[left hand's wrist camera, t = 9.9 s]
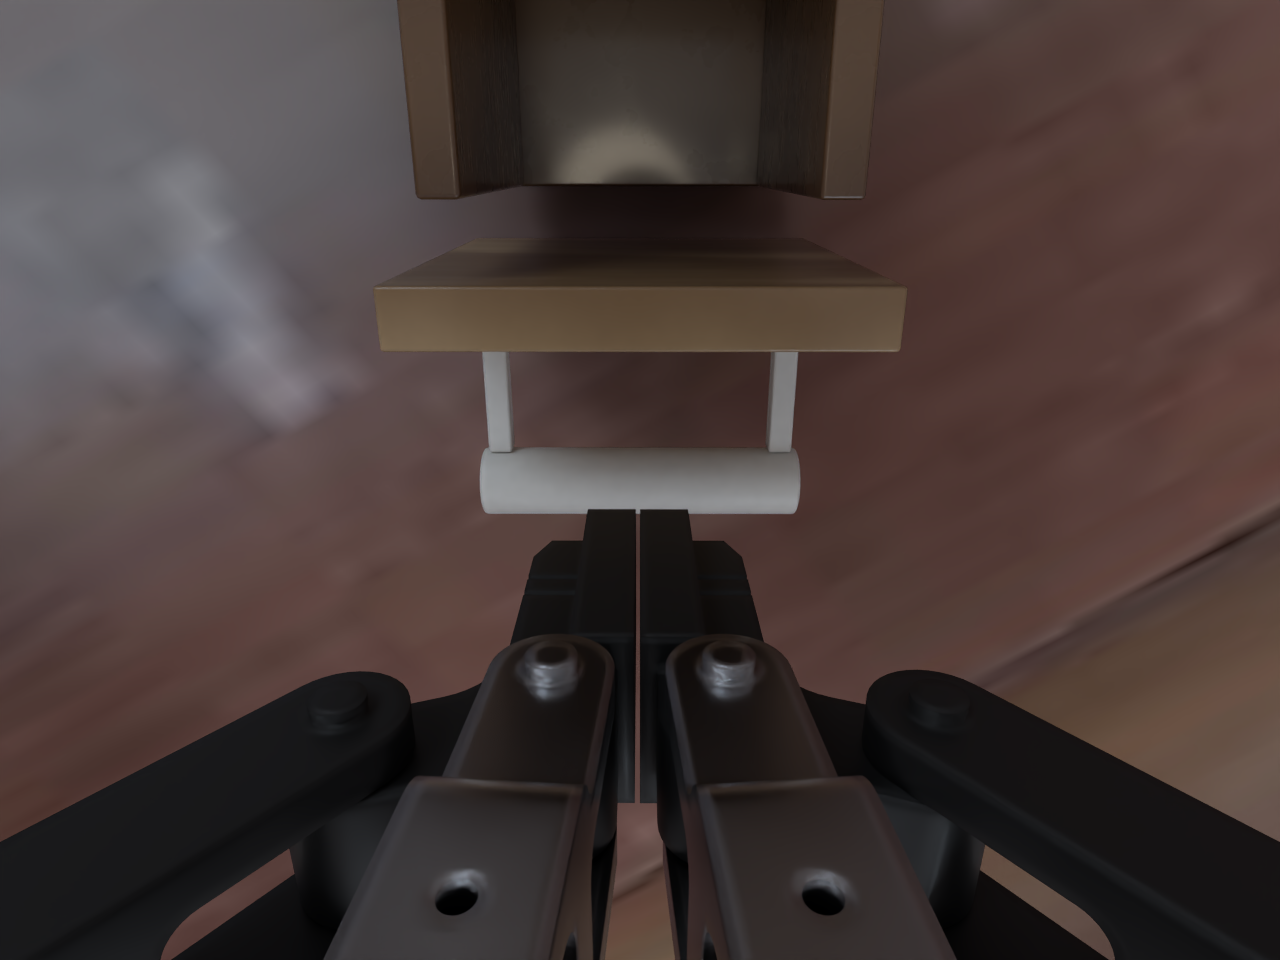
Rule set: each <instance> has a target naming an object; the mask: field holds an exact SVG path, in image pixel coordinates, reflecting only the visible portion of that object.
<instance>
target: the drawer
mask: <svg viewBox="0 0 1280 960" xmlns="http://www.w3.org/2000/svg"><path fill="white" fill-rule="evenodd" d="M884 2H885V0H397V6H398V16H399V27H400V37H401V47H402V58H403V68H404V79H405V89H406V99H407V110H408V120H409V130H410V141H411V151H412V162H413V172H414V182H415V193H416V195H417V198H420V199H460V198H465V197H470V196H475V195H480V194H485V193H490V192H495V191H500V190H505V189H510V188H514V187H519V186H760V187H764V188H769V189H774V190H779V191H784V192H789V193H794V194H798V195H803V196H808V197H813V198H818V199H823V200H861V199H864V197H865V195H866V184H867V174H868V164H869V154H870V144H871V134H872V123H873V113H874V103H875V93H876V83H877V73H878V63H879V52H880V42H881V32H882V22H883V12H884ZM373 293H374V301H375V309H376V318H377V326H378V334H379V343H380V349H381V351H384V352H482V356H483V370H484V384H485V398H486V411H487V425H488V439H489V447H488V448H486V449H485V450H484V452H483V455H482V459H481V466H480V495H481V502H482V506H483V509H484V511H485V512H486V513H488V514H587V511H588V509H636V514H640V509H688V513H689V514H793V513H795V512H796V509H797V507H798V503H799V497H800V465H799V458H798V455H797V452H796V450H795V449H794V448H791V443H792V429H793V416H794V402H795V389H796V375H797V362H798V352H898V351H900V348H901V340H902V332H903V323H904V315H905V307H906V299H907V287H905V286H903V285H901V284H899V283H897V282H894V281H892V280H890V279H888V278H886V277H884V276H882V275H880V274H877V273H875V272H873V271H871V270H869V269H867V268H865V267H863V266H860V265H858V264H856V263H854V262H852V261H850V260H848V259H846V258H843V257H841V256H839V255H837V254H835V253H833V252H831V251H829V250H826V249H824V248H822V247H820V246H818V245H816V244H814V243H812V242H809V241H807V240H805V239H790V238H477V239H475V240H473V241H470V242H468V243H466V244H464V245H462V246H460V247H458V248H456V249H453V250H451V251H449V252H447V253H445V254H443V255H441V256H439V257H436V258H434V259H432V260H430V261H428V262H426V263H424V264H421V265H419V266H417V267H415V268H413V269H411V270H409V271H407V272H404V273H402V274H400V275H398V276H396V277H394V278H392V279H390V280H387V281H385V282H383V283H381V284H379V285H377V286H375V287H374V288H373ZM509 352H771V364H770V380H769V396H768V413H767V429H766V446H767V448H596V447H514V444H515V441H514V424H513V408H512V391H511V374H510V358H509Z"/></svg>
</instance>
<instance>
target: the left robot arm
mask: <svg viewBox="0 0 1280 960" xmlns="http://www.w3.org/2000/svg"><path fill="white" fill-rule="evenodd" d="M635 695H636V509H588V511H587V518H586V524H585V531H584V537H583V541H551V542H550V543H549V544H548V545H547V546H546V547H545V548H543V549H542V550H541V551H540V552H539V553H538V554H536V555H535V556H534V558H533V562H532V565H531V569H530V573H529V579H528V580H527V584H526V588H525V594H524V595H523V599H522V602H521V606H520V610H519V613H518V617H517V621H516V625H515V628H514V632H513V636H512V639H511V643H510V646H508V647H506V648H505V649H503V650H502V651H501V652H500V653H498V654H497V655H496V657H495V658H494V659H493V660H492V662H491V664H490V665H489V668H488V670H487V672H486V675H485V677H484V679H483V682H482V683H480V684H478V685H476V686H474V687H472V688H470V689H468V690H465V691H462V692H460V693H457V694H453V695H449V696H445V697H441V698H436V699H431V700H427V701H422V702H417V703H412V704H411V701H410V695H409V692H408V690H407V688H406V687H405V686H404V685H403V684H402V683H401V682H400V681H398V680H397V679H395V678H393V677H391V676H388V675H385V674H381V673H375V672H361V671H359V672H346V673H340V674H335V675H331V676H327V677H324V678H321V679H318V680H315V681H312V682H310V683H308V684H306V685H304V686H302V687H300V688H298V689H296V690H294V691H292V692H290V693H288V694H286V695H284V696H282V697H280V698H278V699H276V700H274V701H272V702H271V703H269V704H267V705H265V706H263V707H261V708H259V709H257V710H255V711H253V712H251V713H249V714H247V715H245V716H243V717H241V718H240V719H238V720H236V721H234V722H232V723H230V724H228V725H226V726H224V727H222V728H220V729H218V730H216V731H214V732H212V733H211V734H209V735H207V736H205V737H203V738H201V739H199V740H197V741H195V742H193V743H191V744H189V745H187V746H185V747H183V748H181V749H180V750H178V751H176V752H174V753H172V754H170V755H168V756H166V757H164V758H162V759H160V760H158V761H156V762H154V763H152V764H150V765H149V766H147V767H145V768H143V769H141V770H139V771H137V772H135V773H133V774H131V775H129V776H127V777H125V778H123V779H121V780H120V781H118V782H116V783H114V784H112V785H110V786H108V787H106V788H104V789H102V790H100V791H98V792H96V793H94V794H92V795H90V796H89V797H87V798H85V799H83V800H81V801H79V802H77V803H75V804H73V805H71V806H69V807H67V808H65V809H63V810H61V811H59V812H58V813H56V814H54V815H52V816H50V817H48V818H46V819H44V820H42V821H40V822H38V823H36V824H34V825H32V826H30V827H29V828H27V829H25V830H23V831H21V832H19V833H17V834H15V835H13V836H11V837H9V838H7V839H5V840H3V841H1V842H0V960H160V959H161V955H162V952H163V950H164V947H165V945H166V943H167V941H168V940H169V938H170V936H171V935H172V934H173V932H174V931H175V930H176V928H177V927H178V926H179V925H180V924H181V923H182V922H183V921H184V920H185V919H186V918H187V917H188V916H189V915H191V914H192V913H193V912H195V911H196V910H197V909H199V908H200V907H202V906H203V905H205V904H206V903H208V902H209V901H211V900H212V899H214V898H215V897H217V896H218V895H220V894H221V893H223V892H224V891H226V890H227V889H229V888H230V887H232V886H233V885H235V884H236V883H238V882H239V881H241V880H242V879H244V878H245V877H247V876H248V875H250V874H251V873H253V872H254V871H256V870H257V869H259V868H260V867H262V866H263V865H265V864H266V863H268V862H269V861H271V860H272V859H274V858H275V857H277V856H278V855H280V854H281V853H283V852H284V851H286V850H287V849H290V854H291V859H292V863H293V868H294V873H295V874H294V875H292V876H291V877H289V878H288V879H287V880H285V881H284V882H282V883H281V884H279V885H278V886H277V887H275V888H274V889H272V890H271V891H269V892H268V893H266V894H265V895H264V896H262V897H261V898H259V899H258V900H256V901H255V902H254V903H252V904H251V905H249V906H248V907H246V908H245V909H244V910H242V911H241V912H239V913H238V914H236V915H235V916H233V917H232V918H231V919H229V920H228V921H226V922H225V923H223V924H222V925H221V926H219V927H218V928H216V929H215V930H213V931H212V932H211V933H209V934H208V935H206V936H205V937H203V938H202V939H200V940H199V941H198V942H196V943H195V944H193V945H192V946H190V947H189V948H188V949H186V950H185V951H183V952H182V953H180V954H179V955H177V956H176V957H175V958H173V959H172V960H605V954H606V946H607V938H608V930H609V922H610V914H611V906H612V898H613V890H614V882H615V874H616V866H617V803H635ZM640 803H657V822H658V830H659V833H660V836H661V838H662V840H663V866H664V874H665V882H666V890H667V898H668V906H669V914H670V922H671V930H672V938H673V946H674V954H675V960H1108V959H1107V958H1105V957H1104V956H1102V955H1101V954H1100V953H1098V952H1097V951H1095V950H1094V949H1092V948H1091V947H1090V946H1088V945H1087V944H1085V943H1084V942H1082V941H1081V940H1080V939H1078V938H1077V937H1075V936H1074V935H1072V934H1071V933H1069V932H1068V931H1067V930H1065V929H1064V928H1062V927H1061V926H1059V925H1058V924H1057V923H1055V922H1054V921H1052V920H1051V919H1049V918H1048V917H1047V916H1045V915H1044V914H1042V913H1041V912H1039V911H1038V910H1036V909H1035V908H1034V907H1032V906H1031V905H1029V904H1028V903H1026V902H1025V901H1024V900H1022V899H1021V898H1019V897H1018V896H1016V895H1015V894H1013V893H1012V892H1011V891H1009V890H1008V889H1006V888H1005V887H1003V886H1002V885H1001V884H999V883H998V882H996V881H995V880H993V879H992V878H991V877H989V876H988V875H986V874H985V873H983V872H982V871H980V867H981V862H982V857H983V852H984V847H985V845H987V846H988V847H990V848H991V849H993V850H994V851H996V852H997V853H999V854H1000V855H1002V856H1003V857H1005V858H1006V859H1008V860H1009V861H1011V862H1012V863H1014V864H1015V865H1017V866H1018V867H1020V868H1021V869H1023V870H1024V871H1026V872H1027V873H1029V874H1030V875H1032V876H1033V877H1035V878H1036V879H1038V880H1039V881H1041V882H1042V883H1044V884H1045V885H1047V886H1048V887H1050V888H1051V889H1053V890H1054V891H1056V892H1057V893H1059V894H1060V895H1062V896H1063V897H1065V898H1066V899H1068V900H1069V901H1071V902H1072V903H1074V904H1075V905H1077V906H1078V907H1079V908H1081V909H1082V910H1083V911H1085V912H1086V913H1087V914H1088V915H1089V916H1090V917H1091V918H1093V920H1094V921H1095V922H1096V923H1097V924H1098V925H1099V926H1100V928H1101V929H1102V930H1103V932H1104V933H1105V935H1106V936H1107V938H1108V940H1109V942H1110V944H1111V946H1112V949H1113V952H1114V956H1115V960H1280V842H1279V841H1277V840H1275V839H1273V838H1271V837H1269V836H1267V835H1265V834H1263V833H1261V832H1259V831H1257V830H1255V829H1253V828H1251V827H1250V826H1248V825H1246V824H1244V823H1242V822H1240V821H1238V820H1236V819H1234V818H1232V817H1230V816H1228V815H1226V814H1224V813H1222V812H1220V811H1219V810H1217V809H1215V808H1213V807H1211V806H1209V805H1207V804H1205V803H1203V802H1201V801H1199V800H1197V799H1195V798H1193V797H1191V796H1189V795H1188V794H1186V793H1184V792H1182V791H1180V790H1178V789H1176V788H1174V787H1172V786H1170V785H1168V784H1166V783H1164V782H1162V781H1160V780H1159V779H1157V778H1155V777H1153V776H1151V775H1149V774H1147V773H1145V772H1143V771H1141V770H1139V769H1137V768H1135V767H1133V766H1131V765H1129V764H1128V763H1126V762H1124V761H1122V760H1120V759H1118V758H1116V757H1114V756H1112V755H1110V754H1108V753H1106V752H1104V751H1102V750H1100V749H1098V748H1097V747H1095V746H1093V745H1091V744H1089V743H1087V742H1085V741H1083V740H1081V739H1079V738H1077V737H1075V736H1073V735H1071V734H1069V733H1068V732H1066V731H1064V730H1062V729H1060V728H1058V727H1056V726H1054V725H1052V724H1050V723H1048V722H1046V721H1044V720H1042V719H1040V718H1038V717H1037V716H1035V715H1033V714H1031V713H1029V712H1027V711H1025V710H1023V709H1021V708H1019V707H1017V706H1015V705H1013V704H1011V703H1009V702H1008V701H1006V700H1004V699H1002V698H1000V697H998V696H996V695H994V694H992V693H990V692H988V691H986V690H984V689H982V688H980V687H978V686H977V685H975V684H972V683H970V682H968V681H966V680H964V679H961V678H958V677H955V676H952V675H948V674H944V673H941V672H934V671H927V670H904V671H897V672H894V673H890V674H887V675H885V676H883V677H881V678H879V679H878V680H876V681H875V682H874V683H873V684H872V685H871V687H870V688H869V691H868V693H867V699H866V705H865V704H860V703H856V702H851V701H846V700H841V699H837V698H832V697H828V696H824V695H820V694H817V693H814V692H811V691H808V690H806V689H804V688H801V687H800V686H799V684H798V682H797V679H796V677H795V675H794V672H793V670H792V668H791V665H790V664H789V662H788V660H787V659H786V658H785V657H784V655H783V654H782V653H780V652H779V651H778V650H777V649H775V648H774V647H772V646H770V645H769V644H767V643H764V641H763V637H762V633H761V629H760V625H759V621H758V617H757V614H756V610H755V606H754V602H753V598H752V595H751V590H750V587H749V583H748V580H747V575H746V571H745V567H744V563H743V559H742V557H741V556H740V555H739V554H738V553H737V552H736V551H734V550H733V549H732V548H731V547H730V546H729V545H728V544H727V543H725V542H724V541H692V534H691V527H690V520H689V513H688V509H640Z"/></svg>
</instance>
